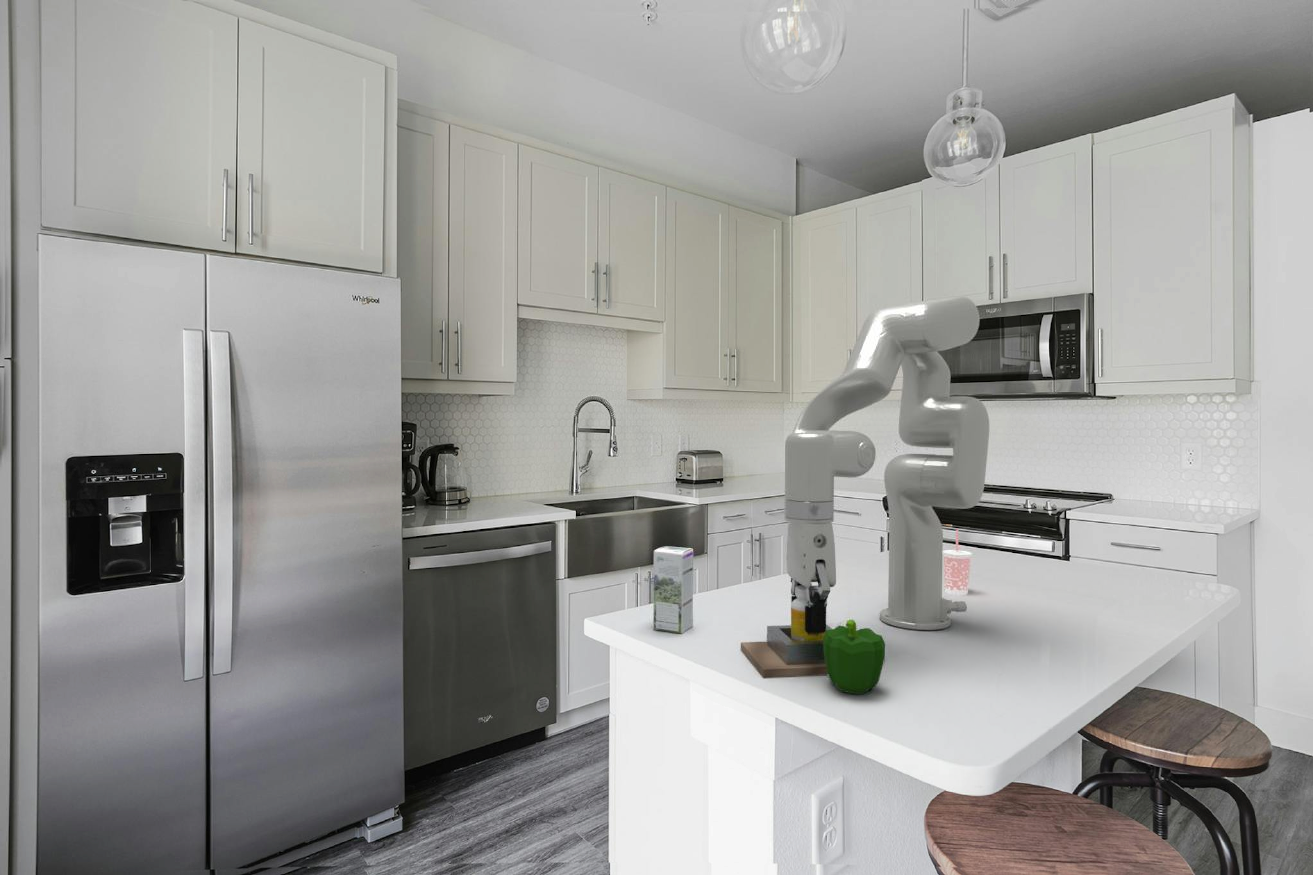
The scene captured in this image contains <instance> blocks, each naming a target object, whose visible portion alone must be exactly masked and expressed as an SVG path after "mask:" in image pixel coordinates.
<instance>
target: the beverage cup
mask: <svg viewBox="0 0 1313 875" xmlns="http://www.w3.org/2000/svg"><path fill="white" fill-rule="evenodd" d="M972 555H973V553H972V552H971V551H968V550H967V551H966V550H960V549H959V529H955V549H945V550H943V569H944V571H943V572H944V590H945V591H944V592H945V593H946V594H949V595H955V596H956V595H957V596H965V595H968V593H969V580H970V568H971V567H970V566H971V558H972Z"/></svg>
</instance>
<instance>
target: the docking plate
mask: <svg viewBox="0 0 1313 875" xmlns="http://www.w3.org/2000/svg"><path fill="white" fill-rule="evenodd" d="M740 651H741V652H742V653H743V654H744V656H745V657H746V659H747V660H749V662H750V663H751V665H753V666H754V669H755V670H756V671H757V672H758V673H759V674H760V675H761V677H762V678H764V679H765V678H785V677H786V678H787V677H788V678H789V677H808V676H828V672H827V667H826V663H821V664H797V665H786V664H785V663H784V662H783V661H782V660H781V659H780V657H779V656H778V655H777V654H776V653H775V652H774V651H773V650H772V649H771V648H770V647H769V646H768V645H767V640H765V641H749V642H747V641H745V642H744V641H742V642H740Z"/></svg>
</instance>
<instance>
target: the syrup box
mask: <svg viewBox="0 0 1313 875" xmlns="http://www.w3.org/2000/svg"><path fill="white" fill-rule="evenodd" d="M693 594H694V549H693V548H691V547H681V546H680V547H677V546H667V545H665V546H661V547H657V548H656V549H654V550H653V630H654V631H661V632H667V633H668V632H670V633H676V634H683V633H685V632H686V631H688V630H690V629H691V628H692V627H693V625H694V608H693V607H694V601H693V600H694V598H693V596H694V595H693Z"/></svg>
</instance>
